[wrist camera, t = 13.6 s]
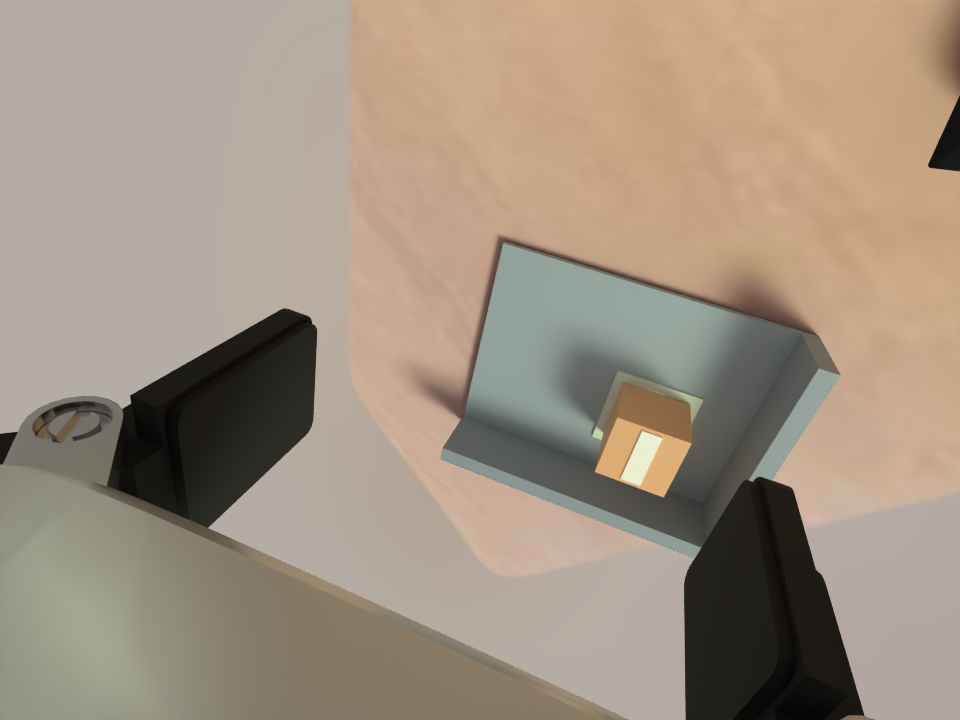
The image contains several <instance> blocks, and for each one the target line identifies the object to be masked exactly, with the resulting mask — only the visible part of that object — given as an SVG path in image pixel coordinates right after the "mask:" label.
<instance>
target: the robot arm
mask: <svg viewBox="0 0 960 720" xmlns="http://www.w3.org/2000/svg"><path fill="white" fill-rule="evenodd" d="M316 345H317V328H316V326H315V325H313V324H312V321H311V318H310V317H308V316H306V315H304V314H300V313H298V312H295V311H292V310H290V309H282V310H279V311H278V312H276V313H274V314H272V315H271V316H269V317H267V318H265V319H264V320H262V321H260V322H258V323H257V324H255V325H253V326H251V327H250V328H248V329H246V330H244V331H243V332H241V333H239V334H237V335H235V336H234V337H232V338H231V339H228V340H227V341H225V342H223V343H222V344H220V345H218V346H216V347H214V348H213V349H211V350H209V351H207V352H206V353H204V354H202V355H201V356H199V357H197V358H195V359H194V360H192V361H190V362H188V363H186V364H185V365H183V366H181V367H179V368H178V369H176V370H174V371H172V372H171V373H169V374H167V375H165V376H164V377H162V378H160V379H158V380H157V381H155V382H153V383H151V384H150V385H148V386H146V387H144V388H143V389H141V390H139V391H137V392H136V393H134V394H132V395H130V398H131V404H130V405H128V406H127V407H125V408H123V409H121V408H120V406H119V405H118V404H117V403H115V402H114V401H112V400H109V399H106V398H102V397H97V396H79V397H71V398H66V399H62V400H58V401H55V402H51V403H49V404H47V405H45V406H43V407H40V408H38V409H37V410H35V411H34V412H33V413H31V414H30V415H29V416H27V418H26V419H25V420H24V422H23V423H22V425H21V426H20V429H19V431H18V432H13V433H4V434H0V720H628V719H626V718H624V717H622V716H620V715H618V714H616V713H613V712H611V711H609V710H607V709H605V708H603V707H601V706H599V705H597V704H594V703H592V702H590V701H588V700H586V699H584V698H581V697H579V696H577V695H575V694H573V693H571V692H568V691H566V690H564V689H562V688H559V687H557V686H555V685H553V684H551V683H549V682H547V681H544V680H542V679H540V678H538V677H536V676H534V675H531V674H529V673H527V672H525V671H523V670H521V669H518V668H516V667H514V666H512V665H510V664H507V663H505V662H503V661H501V660H499V659H496V658H494V657H492V656H490V655H488V654H486V653H483V652H481V651H479V650H477V649H475V648H473V647H471V646H468V645H466V644H464V643H462V642H459V641H457V640H455V639H453V638H451V637H449V636H446V635H444V634H442V633H440V632H438V631H435V630H433V629H431V628H428V627H427V626H424V625H422V624H420V623H418V622H416V621H413V620H411V619H409V618H407V617H405V616H402V615H400V614H398V613H396V612H394V611H391V610H389V609H387V608H385V607H382V606H380V605H378V604H376V603H374V602H371V601H369V600H367V599H365V598H363V597H360V596H358V595H356V594H354V593H352V592H349V591H347V590H345V589H343V588H341V587H338V586H336V585H334V584H332V583H329V582H327V581H325V580H323V579H321V578H318V577H316V576H314V575H312V574H309V573H307V572H305V571H303V570H301V569H298V568H296V567H294V566H292V565H289V564H287V563H285V562H283V561H280V560H278V559H276V558H274V557H271V556H269V555H267V554H265V553H262V552H260V551H258V550H256V549H254V548H251V547H249V546H247V545H245V544H242V543H240V542H238V541H236V540H233V539H231V538H229V537H227V536H224V535H222V534H220V533H218V532H215V531H213V530H211V529H209V528H208V527H209V526H210V525H211V524H212V523H213V522H215V521H216V520H217V519H218V518H219V517H220V516H221V515H222V514H223V513H224V512H225V511H226V510H227V509H228V508H229V507H230V506H232V505H233V504H234V503H235V502H236V501H237V500H238V499H239V498H240V497H241V496H242V495H243V494H244V493H245V492H246V491H247V490H248V489H250V488H251V487H252V486H253V485H254V484H255V483H256V482H257V481H258V480H259V479H260V478H261V477H262V476H263V475H264V474H265V473H266V472H267V471H269V470H270V469H271V468H272V467H273V466H274V465H275V464H276V463H277V462H278V461H279V460H280V459H281V458H282V457H283V456H284V455H285V454H286V453H288V452H289V451H290V450H291V449H292V448H293V447H294V446H295V445H296V444H297V443H298V442H299V441H300V440H301V439H302V438H303V437H304V436H306V434H307V433H308V432H309V430H310V428H311V426H312V423H313V414H314V392H315V368H316V347H317V346H316ZM684 614H685V615H684V617H685V698H686V720H874V719H871V718H868V717H865V716H864V713H863V709H862V706H861V702H860V699H859V695H858V692H857V689H856V685H855V682H854V679H853V675H852V672H851V668H850V665H849V661H848V658H847V655H846V651H845V648H844V645H843V641H842V638H841V634H840V631H839V628H838V624H837V621H836V617H835V614H834V611H833V607H832V604H831V601H830V597H829V594H828V591H827V587H826V584H825V581H824V579H823V577H822V575H821V574H820V573H819V572H818V571H816V569H815V565H814V561H813V558H812V554H811V551H810V547H809V544H808V541H807V537H806V533H805V530H804V526H803V523H802V519H801V516H800V512H799V509H798V505H797V502H796V498H795V494H794V491H793V489H792V488H791V487H789V486H786V485H783V484H780V483H778V482H775V481H772V480H769V479H766V478H763V477H761V476H760V477H757V478H756V479H754V481H753V482H752V481H749V480H744V481H743V482H742V483H741V485H740V486H739V488H738V489H737V491H736V493H735V494H734V496H733V497H732V499H731V501H730V502H729V504H728V506H727V507H726V509H725V510H724V512H723V514H722V515H721V517H720V518H719V520H718V522H717V523H716V525H715V527H714V528H713V530H712V531H711V533H710V535H709V536H708V538H707V539H706V541H705V543H704V544H703V546H702V548H701V549H700V551H699V552H698V554H697V556H696V557H695V559H694V560H693V562H692V564H691V565H690V567H689V569H688V571H687V574H686V577H685V583H684Z"/></svg>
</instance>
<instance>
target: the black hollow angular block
mask: <svg viewBox="0 0 960 720" xmlns="http://www.w3.org/2000/svg"><path fill="white" fill-rule="evenodd" d="M928 166H929V167H930V168H936V169H944V170H953V171H960V96H959V98H958V101H957V103H956V105H955V107H954V109H953V111H952V114H951V116H950V118H949V120H948V122H947V125H946V127H945V129H944V131H943V133H942V135H941V138H940V140H939V142H938V144H937V146H936V149H935V151H934V153H933V155H932V157H931V159H930V162H929V164H928Z"/></svg>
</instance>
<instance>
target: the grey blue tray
mask: <svg viewBox="0 0 960 720" xmlns="http://www.w3.org/2000/svg"><path fill="white" fill-rule="evenodd" d="M840 376H841V375H840V373H839V371H838V370H837V368H836V366H835V364H834V362H833V361H832V359H831V357H830V355H829V353H828V352H827V350H826V348H825V346H824V344H823V343H822V341H821V339H820V337H819V336H817V335H814V334H810V333H807V332H804V331H801V330H797V329H794V328H791V327H787V326H784V325H781V324H777V323H774V322H771V321H768V320H764V319H761V318H758V317H754V316H751V315H748V314H744V313H741V312H738V311H735V310H731V309H728V308H725V307H721V306H718V305H715V304H711V303H708V302H705V301H701V300H698V299H695V298H692V297H688V296H685V295H682V294H678V293H675V292H672V291H668V290H665V289H662V288H659V287H655V286H652V285H649V284H645V283H642V282H639V281H635V280H632V279H629V278H626V277H622V276H619V275H616V274H612V273H609V272H606V271H602V270H599V269H596V268H592V267H589V266H586V265H583V264H579V263H576V262H573V261H569V260H566V259H563V258H559V257H556V256H553V255H550V254H546V253H543V252H540V251H536V250H533V249H530V248H526V247H523V246H520V245H517V244H513V243H510V242H507V241H505V242H504V243H503V246H502V251H501V255H500V259H499V264H498V268H497V272H496V277H495V281H494V286H493V290H492V294H491V299H490V303H489V308H488V312H487V316H486V321H485V325H484V329H483V334H482V338H481V343H480V347H479V351H478V356H477V360H476V364H475V369H474V373H473V378H472V382H471V386H470V391H469V395H468V400H467V404H466V408H465V413H464V416H463V417H462V419H461V420H460V422H459V423H458V425H457V427H456V428H455V430H454V431H453V433H452V434H451V436H450V437H449V439H448V441H447V442H446V444H445V445H444V447H443V449H442V453H441V458H440V459H441V460H443V461H446V462H449V463H451V464H454V465H456V466H459V467H461V468H464V469H467V470H469V471H472V472H474V473H477V474H479V475H482V476H485V477H487V478H490V479H492V480H495V481H497V482H500V483H502V484H505V485H508V486H510V487H513V488H515V489H518V490H520V491H523V492H526V493H528V494H531V495H533V496H536V497H538V498H541V499H544V500H546V501H549V502H551V503H554V504H556V505H559V506H561V507H564V508H567V509H569V510H572V511H574V512H577V513H579V514H582V515H585V516H587V517H590V518H592V519H595V520H597V521H600V522H603V523H605V524H608V525H610V526H613V527H615V528H618V529H621V530H623V531H626V532H628V533H631V534H633V535H636V536H638V537H641V538H644V539H646V540H649V541H651V542H654V543H656V544H659V545H662V546H664V547H667V548H669V549H672V550H674V551H677V552H680V553H682V554H685V555H688V556H690V557H693V558H695V557H696V556H697V554H698V552H699V551H700V549H701V548H702V546H703V544H704V543H705V541H706V539H707V538H708V536H709V535H710V533H711V531H712V530H713V528H714V527H715V525H716V523H717V522H718V520H719V518H720V517H721V515H722V514H723V512H724V510H725V509H726V507H727V506H728V504H729V502H730V501H731V499H732V497H733V496H734V494H735V493H736V491H737V489H738V488H739V486H740V485H741V483H742V482H743V481H744V480H749V481H752V482H753V481H754V479H756V478H757V477H760V476H761V477H763V478H766V479H769V480H772V479H773V478H774V476H775V475H776V473H777V472H778V470H779V469H780V467H781V466H782V464H783V463H784V461H785V460H786V458H787V456H788V455H789V453H790V452H791V450H792V449H793V447H794V446H795V444H796V443H797V441H798V440H799V438H800V437H801V435H802V434H803V432H804V431H805V429H806V428H807V426H808V425H809V423H810V421H811V420H812V418H813V417H814V415H815V414H816V412H817V411H818V409H819V408H820V406H821V405H822V403H823V402H824V400H825V399H826V397H827V396H828V394H829V393H830V391H831V390H832V388H833V386H834V385H835V383H836V382H837V380H838V379H839V377H840ZM624 382H625V383H627V384H630V385H633V386H636V387H639V388H642V389H645V390H648V391H651V392H654V393H657V394H660V395H663V396H666V397H669V398H672V399H675V400H678V401H681V402H684V403H687V404H690V409H691V435H692V444H691V446H690V448H689V450H688V452H687V454H686V456H685V458H684V460H683V462H682V463H681V465H680V467H679V469H678V471H677V473H676V475H675V477H674V479H673V481H672V483H671V484H670V486H669V488H668V490H667V492H666V494H665V496H664V498H663V497H661V496H658V495H655V494H653V493H650V492H647V491H645V490H642V489H639V488H637V487H634V486H631V485H629V484H626V483H623V482H620V481H618V480H615V479H612V478H610V477H607V476H604V475H602V474H599V473H596V472H595V469H596V464H597V459H598V455H599V450H600V445H601V441H602V436H603V432H604V430H605V427H606V425H607V422H608V420H609V417H610V415H611V412H612V410H613V408H614V405H615V403H616V400H617V398H618V395H619V393H620V390H621V388H622V385H623V383H624Z"/></svg>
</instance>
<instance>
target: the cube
mask: <svg viewBox="0 0 960 720" xmlns="http://www.w3.org/2000/svg"><path fill="white" fill-rule="evenodd" d="M691 444H692V435H691V409H690V404H687V403H684V402H681V401H678V400H675V399H672V398H669V397H666V396H663V395H660V394H657V393H654V392H651V391H648V390H645V389H642V388H639V387H636V386H633V385H630V384H627V383H625V382H624V383H623V385H622V388H621V390H620V393H619V395H618V398H617V400H616V403H615V405H614V408H613V410H612V412H611V415H610V417H609V420H608V422H607V425H606V427H605V430H604V432H603V436H602V441H601V445H600V450H599V455H598V459H597V464H596V469H595V472H596V473H599V474H602V475H604V476H607V477H610V478H612V479H615V480H618V481H620V482H623V483H626V484H629V485H631V486H634V487H637V488H639V489H642V490H645V491H647V492H650V493H653V494H655V495H658V496H661V497H663V498H664V496H665V494H666V492H667V490H668V488H669V486H670V484H671V483H672V481H673V479H674V477H675V475H676V473H677V471H678V469H679V467H680V465H681V463H682V462H683V460H684V458H685V456H686V454H687V452H688V450H689V448H690V446H691Z"/></svg>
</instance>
